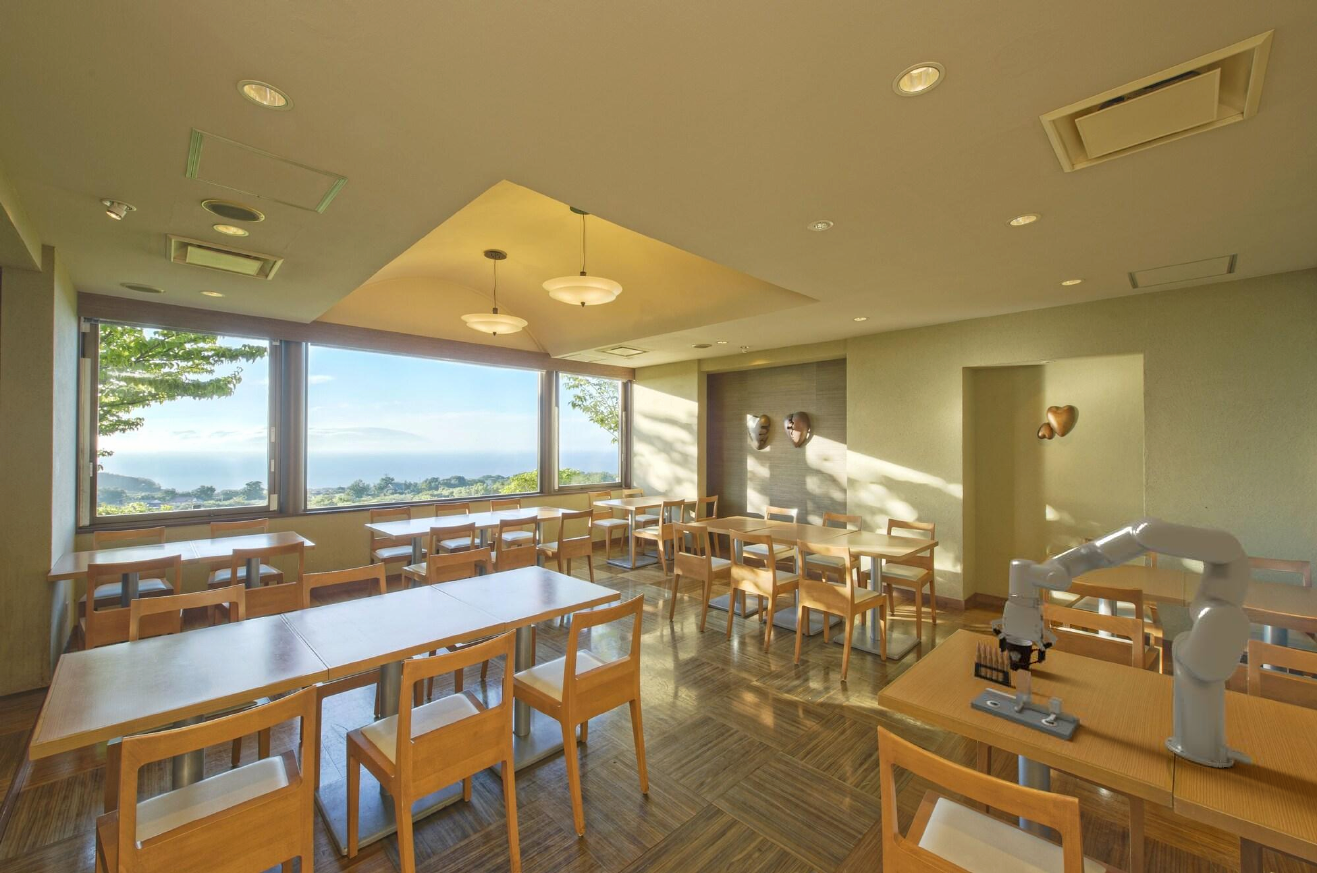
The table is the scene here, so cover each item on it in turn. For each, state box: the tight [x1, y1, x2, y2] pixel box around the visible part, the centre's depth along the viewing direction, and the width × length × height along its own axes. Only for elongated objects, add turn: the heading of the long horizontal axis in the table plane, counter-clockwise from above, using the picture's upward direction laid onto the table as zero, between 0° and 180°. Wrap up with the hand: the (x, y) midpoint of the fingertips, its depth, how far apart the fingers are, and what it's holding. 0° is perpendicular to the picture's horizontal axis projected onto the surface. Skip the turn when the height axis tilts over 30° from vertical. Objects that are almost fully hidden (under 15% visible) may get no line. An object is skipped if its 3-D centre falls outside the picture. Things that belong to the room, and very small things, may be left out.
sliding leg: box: [1014, 669, 1032, 712], centre depth 160 cm, size 3×9×10 cm, turn 131°
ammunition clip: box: [974, 641, 1012, 688], centre depth 182 cm, size 11×2×12 cm, turn 40°
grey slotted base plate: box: [970, 687, 1081, 742], centre depth 159 cm, size 24×14×6 cm, turn 41°
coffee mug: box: [1005, 636, 1039, 672], centre depth 191 cm, size 12×9×10 cm
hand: (1021, 656), depth 163 cm, fingers open, 9 cm apart
